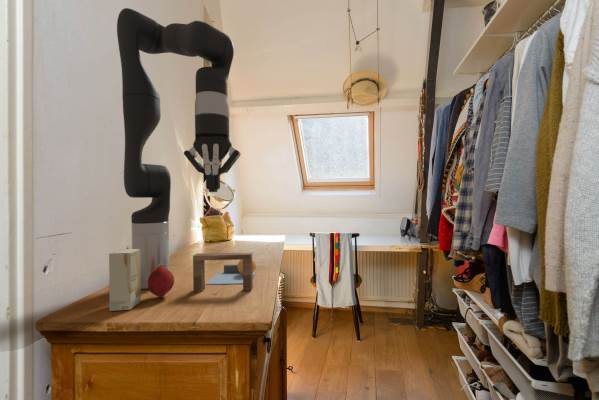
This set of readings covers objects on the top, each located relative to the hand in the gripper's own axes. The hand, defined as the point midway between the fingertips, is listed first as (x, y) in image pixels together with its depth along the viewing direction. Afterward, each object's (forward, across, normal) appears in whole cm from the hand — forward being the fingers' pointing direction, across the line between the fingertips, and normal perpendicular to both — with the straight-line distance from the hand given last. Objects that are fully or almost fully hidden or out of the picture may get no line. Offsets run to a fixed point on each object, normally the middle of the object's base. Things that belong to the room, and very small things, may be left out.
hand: (213, 191), depth 69 cm
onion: (+25, -14, +4) cm, 29 cm away
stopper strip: (+25, 0, +26) cm, 36 cm away
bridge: (+25, 0, +8) cm, 26 cm away
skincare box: (+25, -19, -2) cm, 32 cm away
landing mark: (+25, 0, +20) cm, 32 cm away
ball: (+22, +4, +23) cm, 32 cm away
